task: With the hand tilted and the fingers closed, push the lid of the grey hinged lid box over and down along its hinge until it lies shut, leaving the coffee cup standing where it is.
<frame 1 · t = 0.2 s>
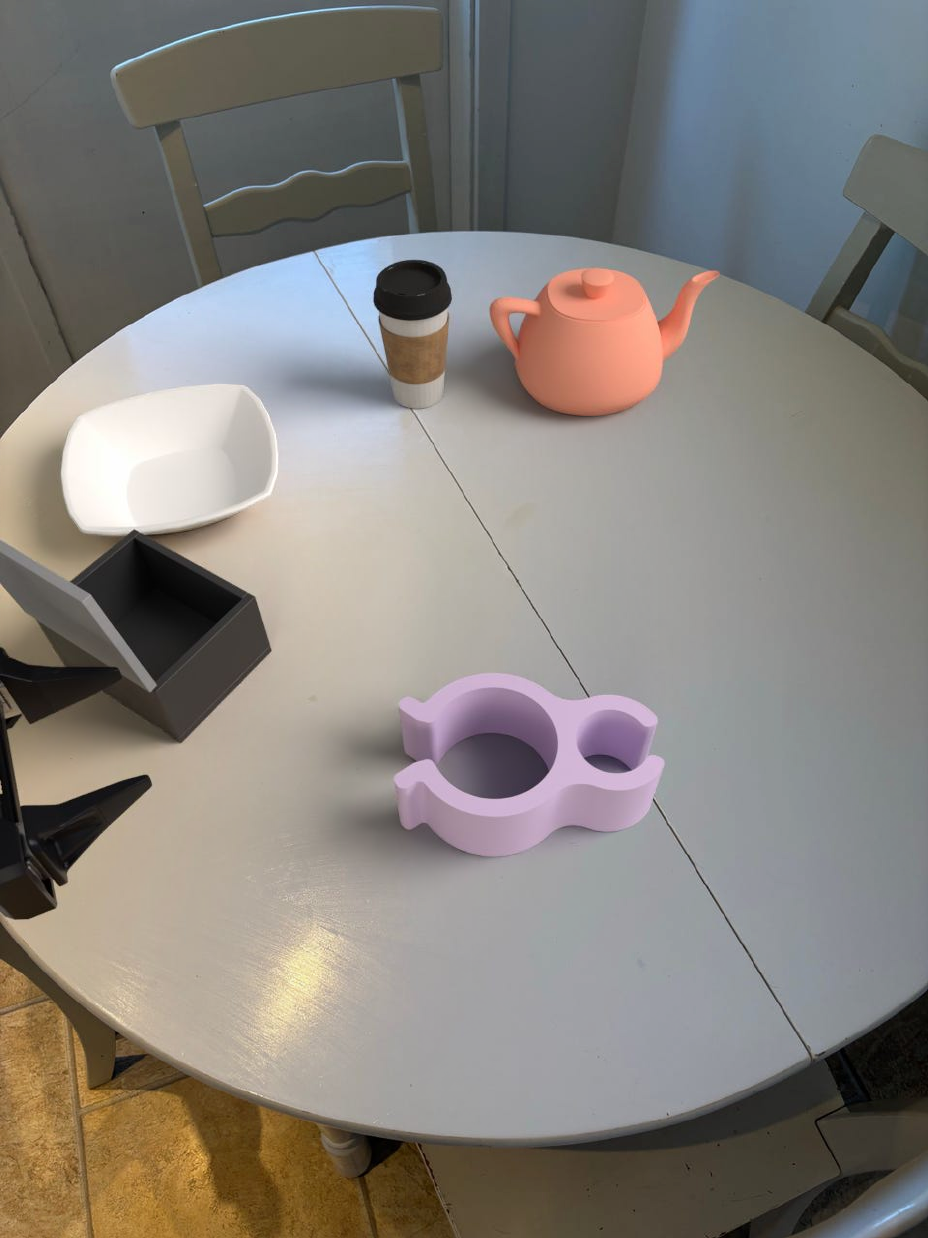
hand: (134, 723, 59), 15 cm above the table, tool horizontal, fingers open, 9 cm apart
coffee cup: (418, 394, 104), on the table
teapot: (592, 379, 106), on the table
clip: (524, 785, 73), on the table
grey hinged lid box: (169, 658, 81), on the table
bowl: (183, 491, 95), on the table
box lid: (54, 604, 66), point 14 cm above the table, hinge at 96.0°
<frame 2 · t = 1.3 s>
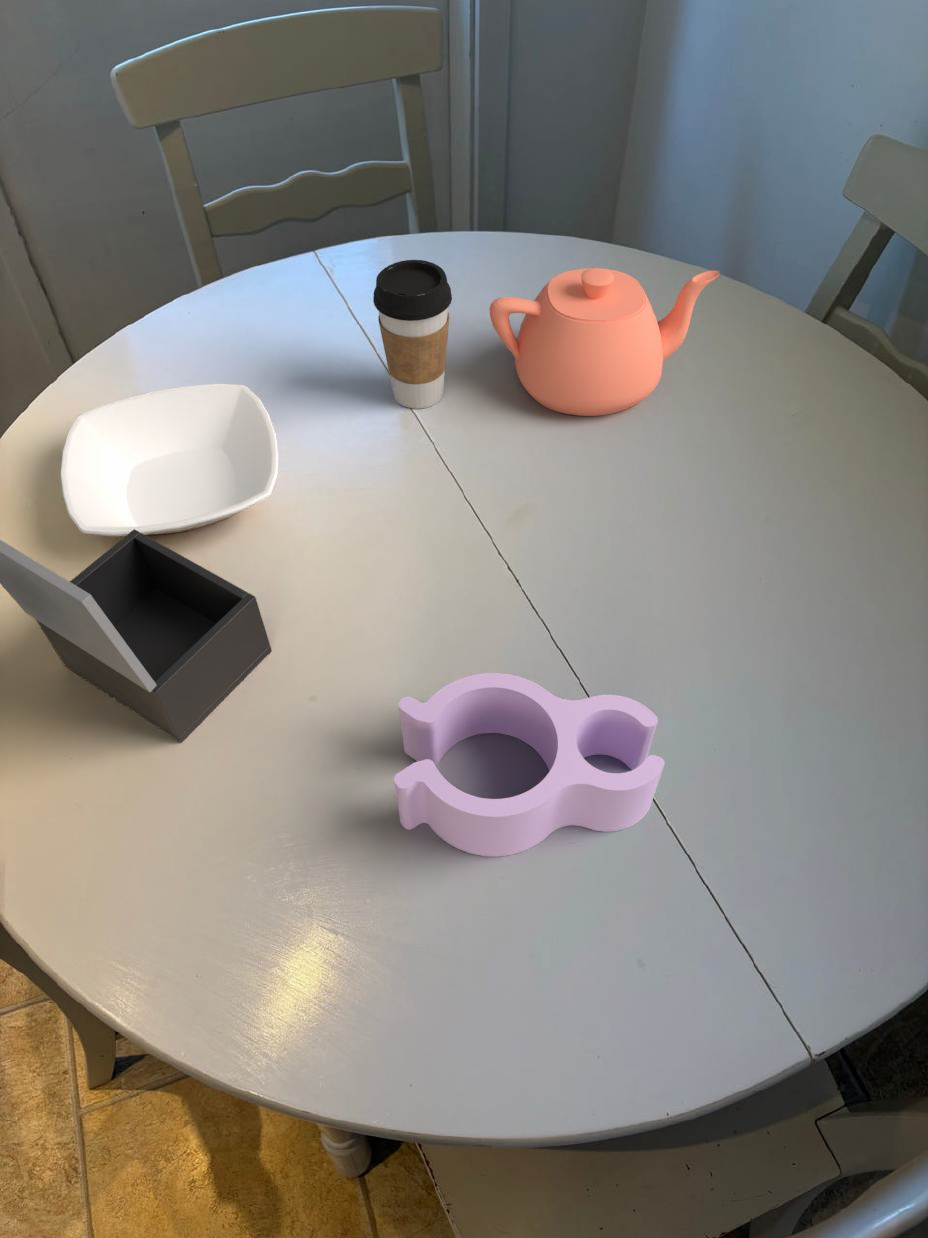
nothing on the table moved.
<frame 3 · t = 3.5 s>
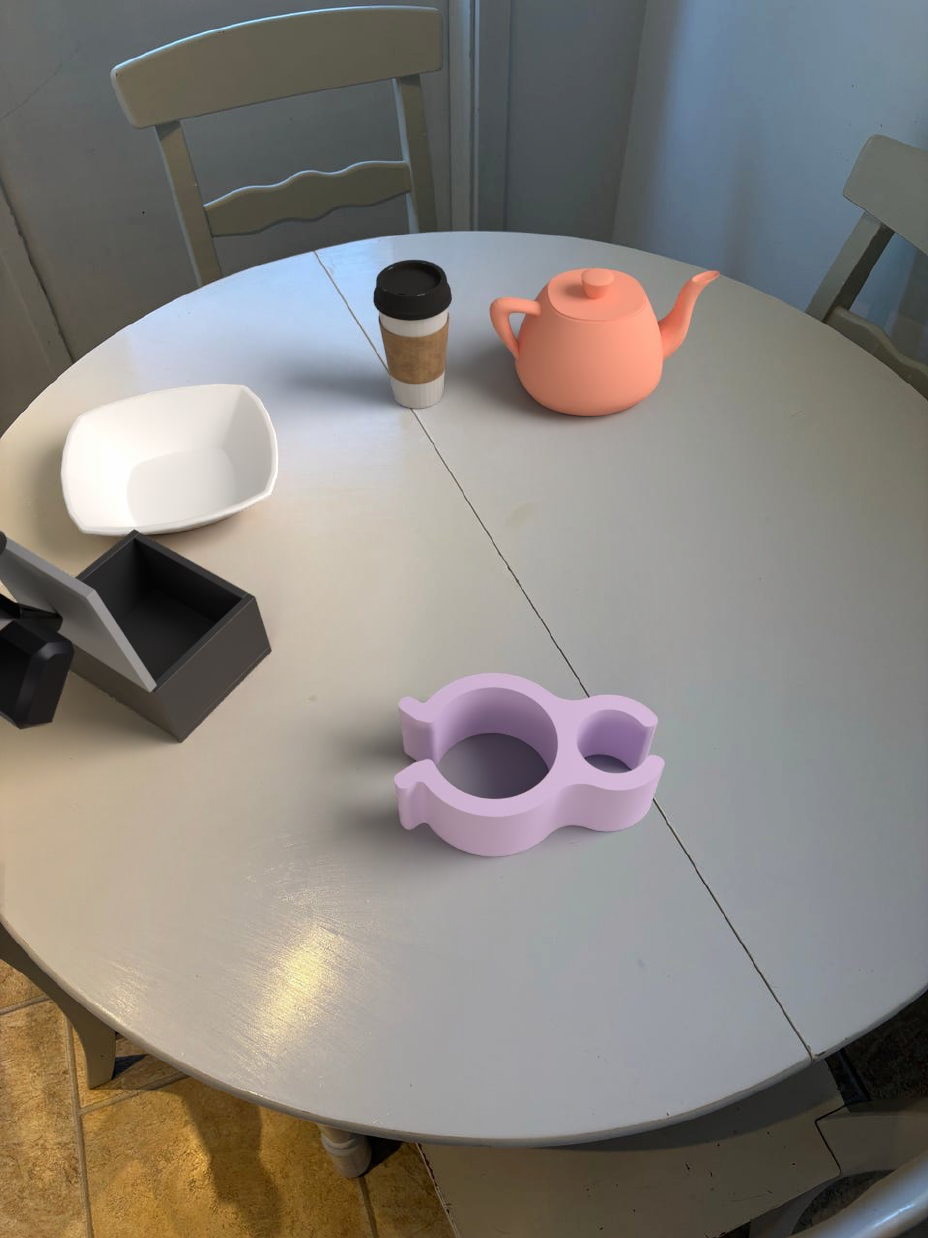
hand: (58, 621, 67), 13 cm above the table, tool tilted 45°, fingers closed, pressing on box lid
box lid: (56, 602, 66), point 14 cm above the table, hinge at 93.9°, touching gripper
everything else where it was.
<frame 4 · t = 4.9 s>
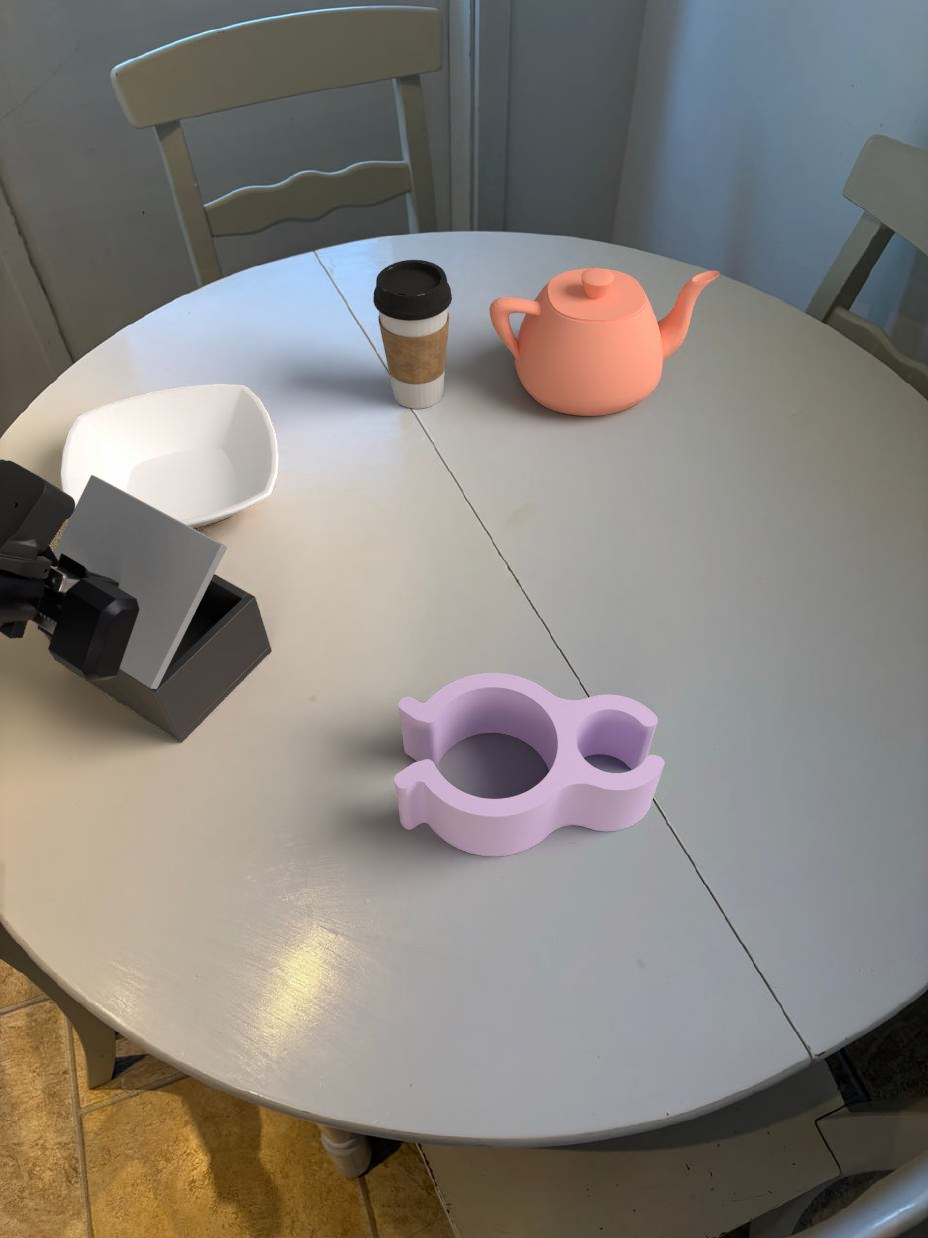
hand: (114, 587, 71), 12 cm above the table, tool tilted 45°, fingers closed, pressing on box lid
box lid: (123, 578, 71), point 12 cm above the table, hinge at 34.4°, touching gripper
everything else where it was.
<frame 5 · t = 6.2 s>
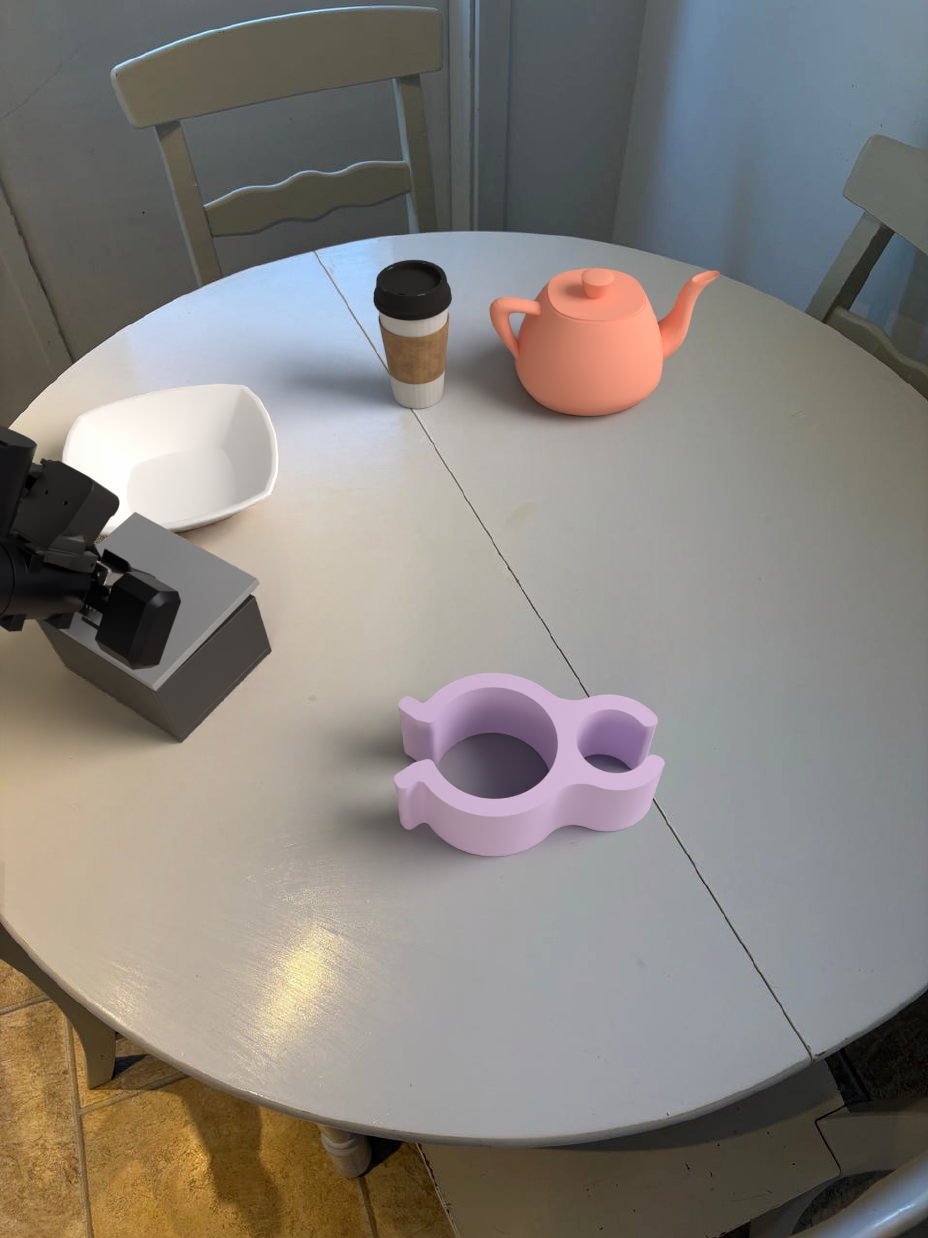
hand: (151, 581, 74), 9 cm above the table, tool tilted 45°, fingers closed
box lid: (144, 595, 74), point 9 cm above the table, hinge at 3.3°
everything else where it was.
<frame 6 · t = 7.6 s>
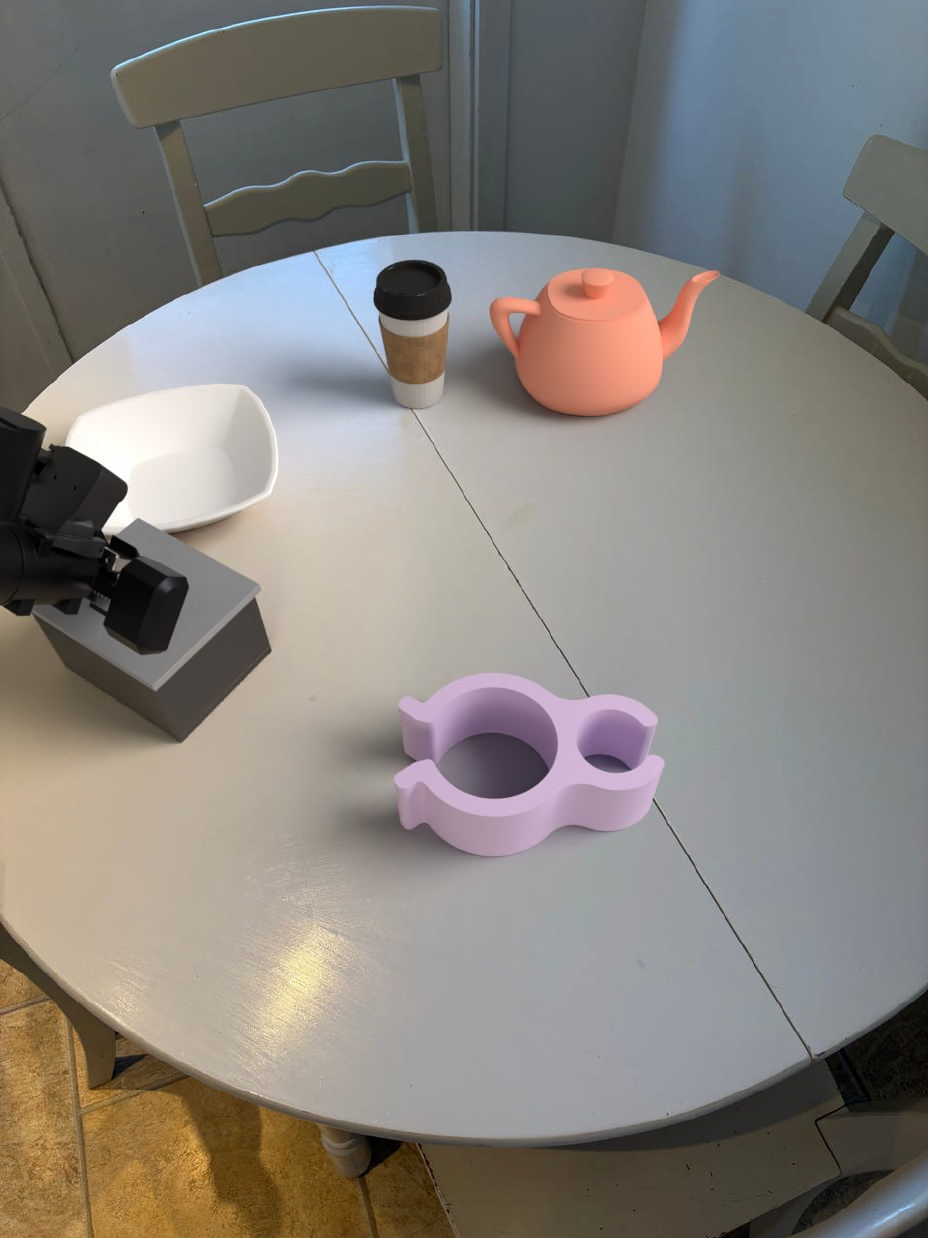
hand: (158, 568, 74), 10 cm above the table, tool tilted 45°, fingers closed
box lid: (146, 598, 74), point 8 cm above the table, hinge at -0.3°, touching grey hinged lid box
everything else where it was.
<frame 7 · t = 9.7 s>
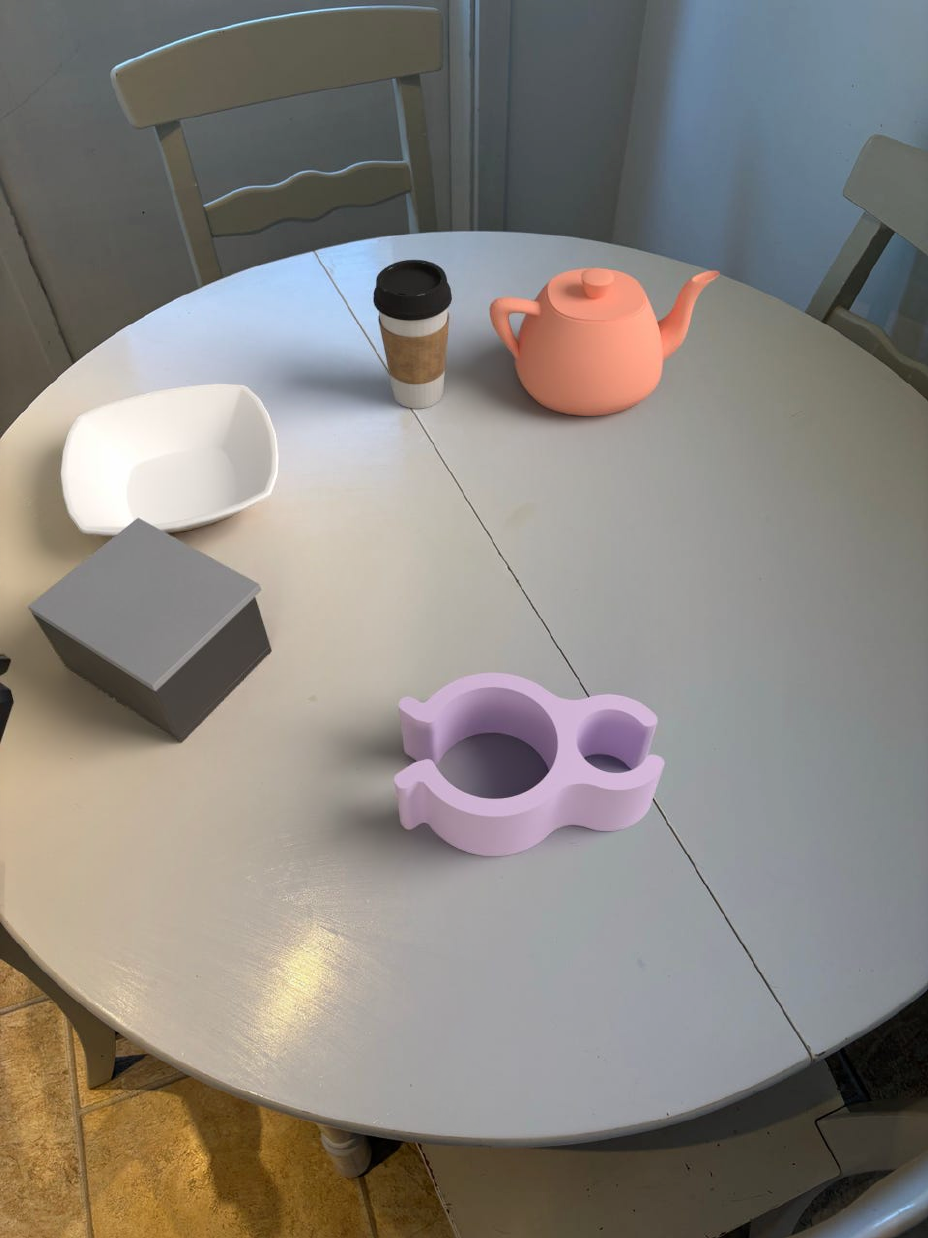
hand: (6, 662, 65), 13 cm above the table, tool tilted 45°, fingers closed
nothing on the table moved.
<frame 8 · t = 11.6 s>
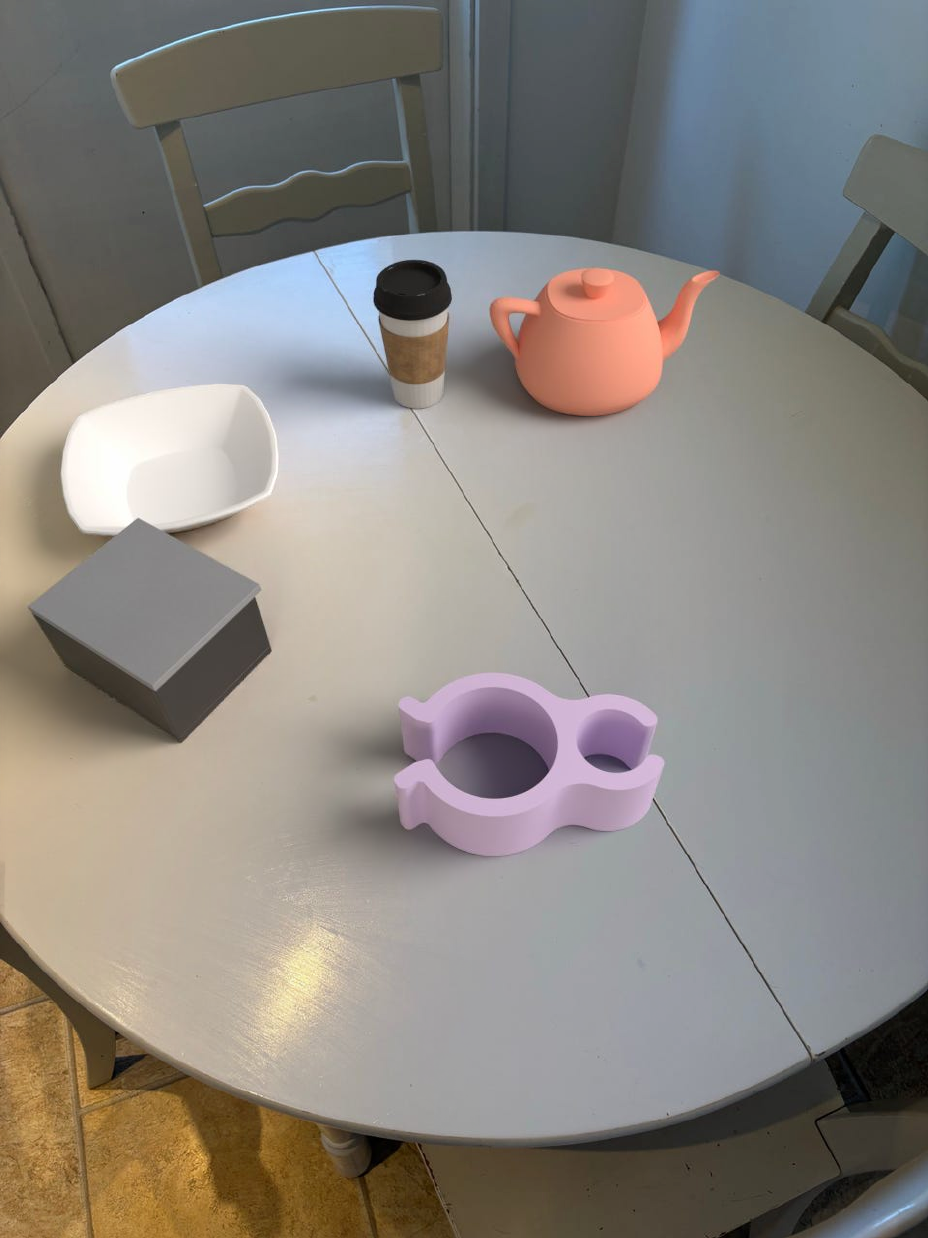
nothing on the table moved.
at the end: box lid at +0° (first picture: +96°); coffee cup moved 0.2 cm from its start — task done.
